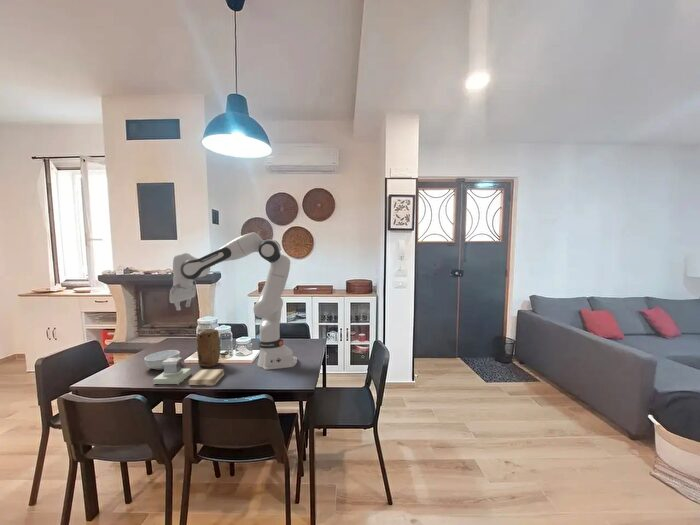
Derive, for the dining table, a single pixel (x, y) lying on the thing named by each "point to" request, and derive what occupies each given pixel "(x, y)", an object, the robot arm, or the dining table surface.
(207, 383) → the stand
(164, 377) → the stand
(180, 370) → the housing
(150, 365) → the cereal bowl
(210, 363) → the brown jar
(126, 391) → the dining table surface
